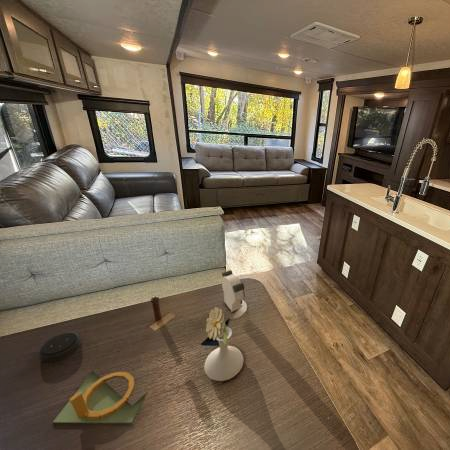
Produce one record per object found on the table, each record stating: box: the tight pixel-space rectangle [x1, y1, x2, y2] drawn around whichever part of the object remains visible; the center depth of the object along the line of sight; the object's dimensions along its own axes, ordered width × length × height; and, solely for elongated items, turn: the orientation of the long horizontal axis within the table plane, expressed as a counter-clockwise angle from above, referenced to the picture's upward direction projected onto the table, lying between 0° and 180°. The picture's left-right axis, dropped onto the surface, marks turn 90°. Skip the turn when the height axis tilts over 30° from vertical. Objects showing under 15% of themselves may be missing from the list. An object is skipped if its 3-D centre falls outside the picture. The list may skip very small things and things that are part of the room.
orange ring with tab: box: [68, 371, 135, 420], centre depth 63 cm, size 11×12×8 cm
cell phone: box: [200, 317, 231, 347], centre depth 88 cm, size 7×14×1 cm, turn 3°
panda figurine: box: [221, 269, 248, 320], centre depth 95 cm, size 12×11×15 cm
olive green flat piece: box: [52, 370, 149, 424], centre depth 65 cm, size 18×13×1 cm
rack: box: [147, 295, 176, 332], centre depth 87 cm, size 8×8×11 cm
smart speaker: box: [38, 331, 82, 363], centre depth 74 cm, size 9×9×4 cm
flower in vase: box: [204, 307, 244, 382], centre depth 70 cm, size 13×11×25 cm
